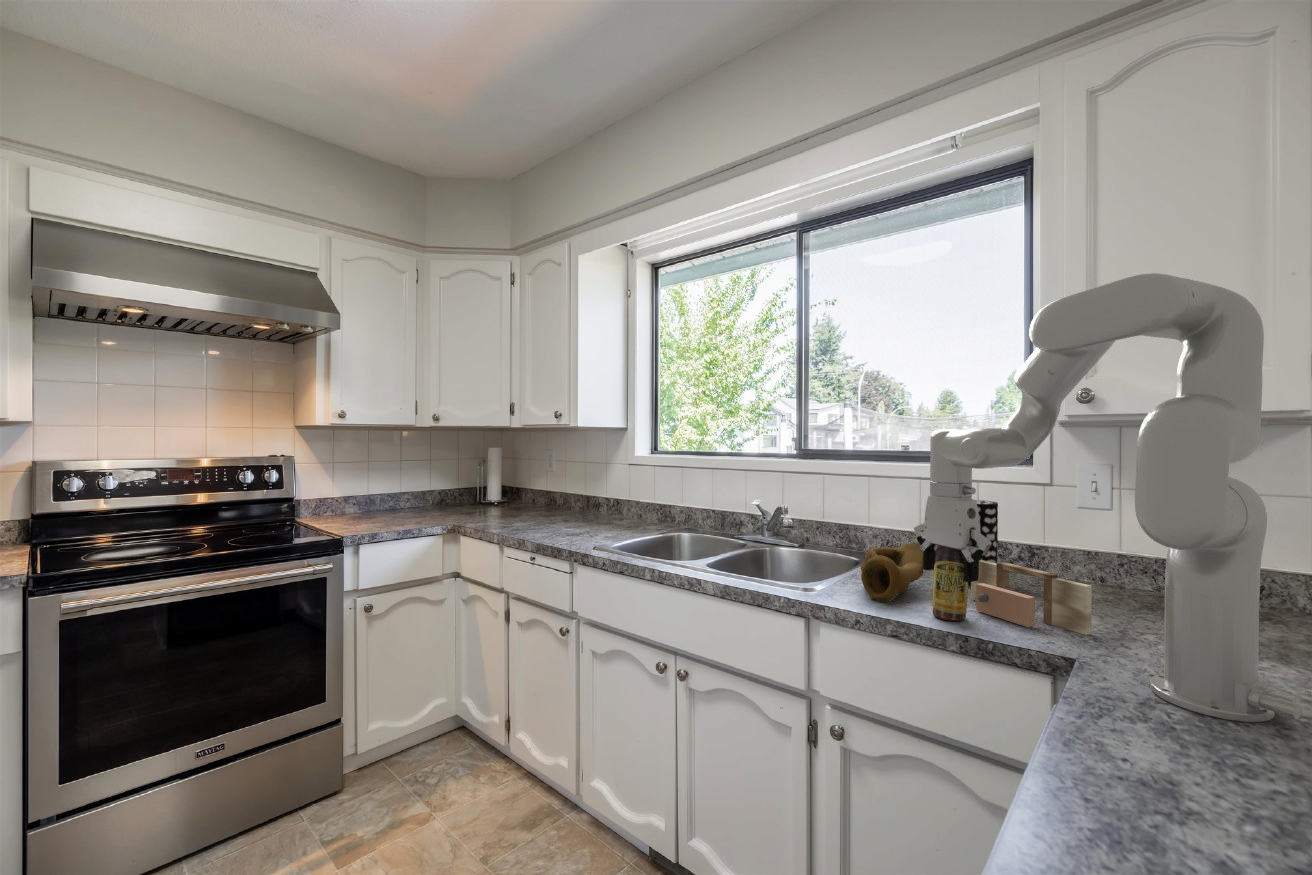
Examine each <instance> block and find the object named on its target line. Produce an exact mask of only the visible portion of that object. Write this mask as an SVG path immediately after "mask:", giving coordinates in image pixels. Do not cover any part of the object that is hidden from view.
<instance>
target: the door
mask: <svg viewBox="0 0 1312 875" xmlns="http://www.w3.org/2000/svg"><path fill="white" fill-rule="evenodd" d="M975 603H976V604H975V605H976V607H975V608H976V609H975V610H976V612H980V613H982V614H986V615H989V616H991V617H996V618H999V619H1002V620H1005V621H1008V622H1011V623H1014V624H1017V625H1020V626H1023V627H1026V628H1030V627H1034V626H1036V597H1035V596H1032V595H1028V594H1026V593H1025V594H1024V593H1022V592H1017V591H1014V590H1010V589H1009V590H1007V589H1003V588H999V587H996V586H992V585H989V584H985V583H980V584H976V601H975Z"/></svg>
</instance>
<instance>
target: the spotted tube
mask: <svg viewBox="0 0 1312 875" xmlns="http://www.w3.org/2000/svg"><path fill="white" fill-rule="evenodd" d="M975 500H976V503H977V508H978V513H979V521H980V533H981V534H982V535H983V536H984V537H986V538H987V539H988V540H990V541H991V543H992V544H991V546H990V548H989V550H988V551H987V555H986V556H984V557H983V558H982V560H984V561H988V562H992V563H996V564H997V563H999V561H998V559H999V557H998V555H999V552H998V548H999V546H998V545H999V544H998V542H999V535H998V534H999V526H998V525H999V503H998V502H997V501H990V500H982V499H975ZM978 549H979V548H977V550H978ZM969 551H970V550H969ZM970 553H971V552H970ZM971 554H972V553H971ZM968 585H969V586H968V587H971V582H968Z"/></svg>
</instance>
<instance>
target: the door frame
mask: <svg viewBox="0 0 1312 875" xmlns="http://www.w3.org/2000/svg"><path fill="white" fill-rule="evenodd" d="M1010 572H1014V573H1016V574H1017V573H1018V574H1021V575H1027V576H1030V577H1035V578H1038V579H1042V580H1043V606H1042V607H1043V613H1042V614H1043V616H1042V618H1043V619H1042V620H1043V621H1042V622H1043V623H1044V624H1048V625H1052V626H1056V627H1059V628H1061V629H1064V630H1069V631H1071V632H1075V633H1078V634H1082V635H1085V636H1087V635H1092V598H1093V597H1092V595H1093V594H1092V592H1093V590H1092V586H1093V585H1092V584H1086V583H1081V582H1077V581H1073V580H1069V579H1066V578H1060V577H1059V574H1057V573H1054V572H1049V571H1045V570H1040V569H1037V568H1031V567H1027V566H1022V565H1017V564H1014V563H1010V562H1009V563H1008V562H1005V561H1000V562H999V561H998V563H997V564H996V563H992V562H988V561H984V560H981V561H979V576H978V581H973V582H971V586H970V600H971V601H974V600H975V602H976V584H980V583H985V584H989V585H992V586H996V587H999V588H1003V589H1007V590H1010Z"/></svg>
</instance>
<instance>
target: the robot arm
mask: <svg viewBox="0 0 1312 875" xmlns="http://www.w3.org/2000/svg"><path fill="white" fill-rule="evenodd" d="M1264 332H1265V331H1264V324H1263V320H1262V317H1261V315H1260V314H1259V311H1258V310H1257V308H1256V307H1255V306H1254V304H1253V303H1251V302H1250V301H1249V300H1248V299H1247V298H1246V297H1244V296H1243V295H1241V294H1240V293H1237V292H1236V291H1233V290H1230V289H1227V288H1225V287H1222V286H1218V285H1215V284H1211V283H1206V282H1204V281H1203V282H1202V281H1198V280H1194V279H1190V278H1185V277H1180V276H1179V277H1178V276H1175V275H1169V274H1165V273H1154V272H1153V273H1152V272H1151V273H1142V274H1137V275H1132V276H1128V277H1125V278H1122V279H1118V280H1115V281H1111V282H1109V283H1106V284H1103V285H1099V286H1097V287H1093V288H1090V289H1086V290H1083V291H1081V292H1077V293H1074V294H1070V295H1067V296H1065V297H1064V296H1063V297H1061V298H1058V299H1056V300H1054V301H1051V302H1050V303H1048V304H1046V305H1045V306H1043V307H1042V308H1041V309H1040V310H1039V311H1038V312H1036V314H1035V315H1034V317H1033V319H1032V320H1031V322H1030V326H1029V339H1030V341H1031V343H1032V345H1033V346H1035V349H1034V350H1033V352H1032V353H1031V354H1030V356H1029V357H1027V360H1025V362H1024V363H1023V364H1022V365H1021V367H1020V368H1019V369H1018V370H1017V372H1015V375H1014V384H1015V386H1016V387H1017V388H1018V390H1019V391H1020V392H1021V402H1020V404H1019V406H1018V408H1017V409H1016V411H1015V413H1014V414H1013V415H1012V416H1011V417H1010V419H1009V420H1008V421H1007V422H1006V423H1005V424H1004V426H1002V427H1001V428H999V427H997V428H995V427H994V428H993V427H992V428H990V427H989V428H973V429H972V428H971V429H967V430H966V429H950V428H949V429H936V430H934V431H933V432H932V433H931V434H930V439H929V440H930V442H929V443H930V447H929V448H930V452H929V453H930V457H929V459H930V460H929V467H930V469H929V472H930V473H929V495H928V496H927V500H926V505H925V511H924V521H923V522H924V523H920V524H919V525H916V526H914V527H913V530H914V531H913V532H914V533H915V535H916V542H919V544H920V545H921V550H923V571H934V564H935V556H936V555H935V552H936V548H937V547H938V546H947V547H950V548H952V549H957V550H961V551H962V553H963V554H964V556H965V558H966V559H967V561H964V581H965V582H973V581H978V576H979V561H981V560H982V558H983V557H984V556H986V555H987V551H988V550H989V548H990V546H991V544H992V543H991V541H990V540H988V539H987V538H986V537H984V536H983V535H982V534H981V533H980V521H979V513H978V508H977V503H976V500H977V499H976V498H973V497H972V496H973V495H975V494H976V492H977V489H976V488H975V487H973V469H978V470H979V469H981V470H982V469H983V470H984V469H997V468H1009V467H1010V468H1011V467H1015V466H1018V465H1019V464H1022V463H1023V462H1024V461H1026V460H1027V459H1028V458H1029V457H1031V456H1032V455H1033V453H1035V451H1036V450H1037V449H1038V448H1039V447H1040V446H1041V445H1042V443H1043V442H1045V440H1046V439H1047V438H1048V437H1049V435H1050V434H1051V433H1052V431H1053V429H1054V427H1055V425H1056V422H1057V420H1058V417H1059V415H1060V411H1061V406H1062V403H1063V402H1064V400H1065V399H1066V398H1067V397H1068V396H1069V394H1070V393H1072V391H1073V390H1074V389H1075V388H1076V387H1077V385H1078V384H1079V383H1080V382H1081V381H1082V380H1083V378H1085V376H1086V375H1087V374H1088V372H1089V371H1090V370H1092V369H1093V367H1094V366H1095V365H1096V364H1097V363H1098V362H1099V361H1100V359H1101V358H1102V357H1103V356H1104V355H1105V354H1106V353H1107V352H1108V351H1109V349H1110V348H1111V347H1112V346H1113V344H1114V343H1115V342H1116V341H1118V340H1123V339H1129V338H1134V337H1140V336H1144V337H1151V338H1164V339H1168V340H1169V339H1171V340H1177V341H1179V342H1180V343H1181V345H1182V351H1181V354H1180V357H1179V360H1178V364H1177V367H1176V368H1177V369H1176V388H1175V397H1174V398H1171V399H1167V400H1165V401H1162V402H1161V403H1159V404H1157V405H1156V406H1155V407H1153V408H1152V409H1151V410H1150V411H1149V412H1148V413H1147V415H1146V416H1145V417H1144V419H1143V421H1142V423H1141V424H1140V427H1139V431H1138V434H1137V440H1136V441H1137V443H1136V459H1135V460H1136V461H1135V462H1136V464H1135V484H1134V486H1135V488H1134V509H1135V510H1134V511H1135V517H1136V520H1137V522H1138V524H1139V526H1140V528H1141V530H1142V531H1143V532H1144V534H1146V535H1147V536H1148V537H1149V538H1150V539H1151V540H1152V541H1154V542H1156V543H1158V545H1161V546H1163V547H1165V548H1168V550H1167V554H1166V559H1165V560H1166V561H1165V570H1164V571H1165V572H1164V574H1165V576H1164V578H1165V579H1164V634H1163V635H1164V638H1163V639H1164V643H1163V645H1164V649H1163V650H1164V651H1163V652H1164V653H1163V654H1164V655H1163V673H1161V674H1155V675H1154V676H1153V675H1152V677H1151V678H1150V679H1149V686H1150V687H1149V688H1150V689H1151V691H1152V692H1153V693H1154V694H1155V695H1156V696H1158V697H1159V698H1161V699H1162V700H1164V701H1167V702H1168V703H1170V704H1173V705H1175V706H1178V707H1180V708H1183V709H1184V710H1185V709H1186V710H1189V711H1192V712H1195V713H1198V714H1203V715H1206V716H1208V717H1214V718H1218V719H1224V720H1229V721H1235V722H1245V723H1261V722H1267V721H1270V720H1273V719H1274V718H1275V716H1276V715H1275V714H1278V715H1280V716H1281V715H1282V716H1284V717H1287V718H1289V719H1294V720H1298V719H1299V718H1300V717H1301V713H1302V707H1301V704H1299V703H1298V702H1297V699H1296V698H1293V697H1290V696H1287V695H1284V694H1279V693H1276V692H1273V690H1271V688H1269V678H1265V677H1262V676H1259V648H1260V646H1259V640H1260V638H1259V636H1260V635H1259V634H1260V632H1259V631H1260V628H1259V627H1260V596H1261V594H1260V592H1261V567H1262V566H1261V565H1262V556H1263V551H1264V550H1263V549H1264V544H1265V539H1266V534H1267V526H1268V513H1267V509H1266V505H1265V503H1264V501H1263V499H1262V497H1261V496H1260V495H1259V493H1258V492H1257V491H1256V490H1254V489H1253V487H1252V486H1250V485H1249V484H1247V483H1245V482H1243V481H1242V480H1239V479H1236V478H1233V477H1231V476H1230V477H1229V474H1230V473H1229V472H1230V465H1231V464H1235V463H1237V462H1241V461H1243V460H1245V459H1247V458H1248V457H1250V456H1251V455H1252V454H1253V453H1255V450H1257V448H1258V446H1259V444H1260V441H1261V434H1262V432H1261V431H1262V429H1261V428H1262V427H1261V426H1262V425H1261V424H1262V403H1263V402H1262V400H1263V363H1264V361H1263V359H1264V358H1263V357H1264V343H1265V342H1264V340H1265V338H1264V337H1265V336H1264V335H1265V334H1264ZM977 548H979V549H978V550H977ZM969 550H970V551H969ZM970 552H971V553H972V554H971V553H970Z"/></svg>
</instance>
